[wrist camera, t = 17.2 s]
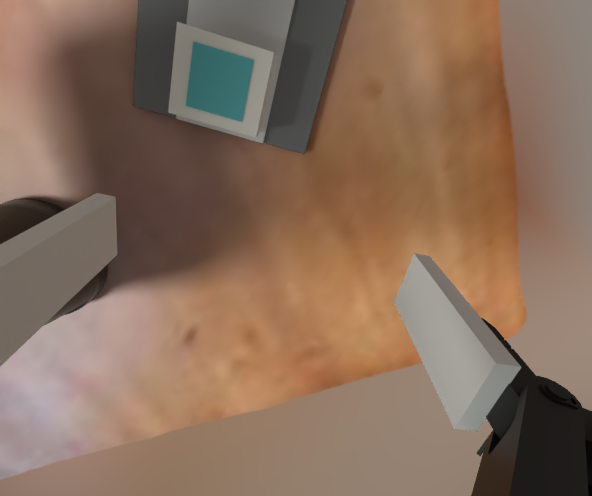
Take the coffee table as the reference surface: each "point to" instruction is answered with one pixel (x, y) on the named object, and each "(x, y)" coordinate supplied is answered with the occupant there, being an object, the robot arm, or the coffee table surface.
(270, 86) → the rail board
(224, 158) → the coffee table surface
